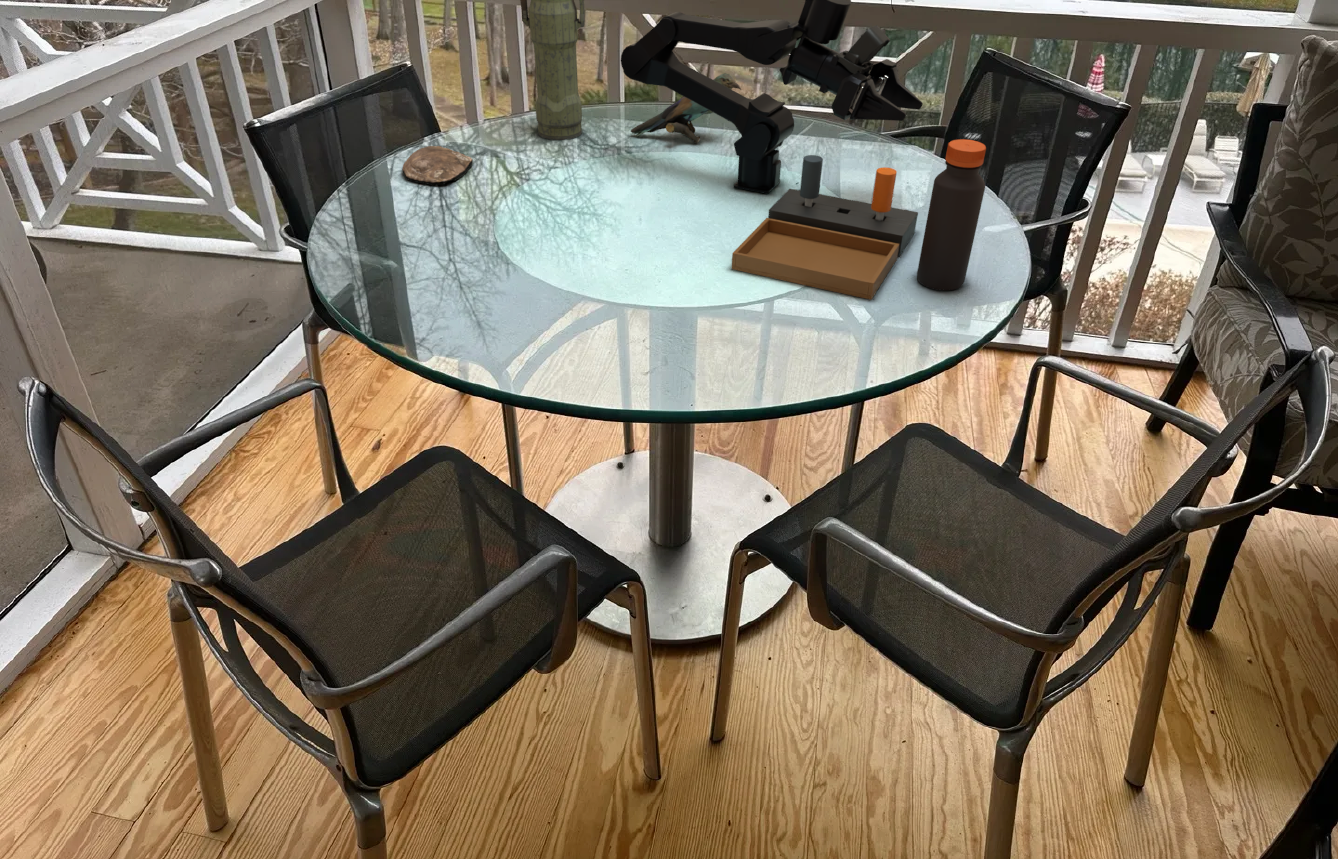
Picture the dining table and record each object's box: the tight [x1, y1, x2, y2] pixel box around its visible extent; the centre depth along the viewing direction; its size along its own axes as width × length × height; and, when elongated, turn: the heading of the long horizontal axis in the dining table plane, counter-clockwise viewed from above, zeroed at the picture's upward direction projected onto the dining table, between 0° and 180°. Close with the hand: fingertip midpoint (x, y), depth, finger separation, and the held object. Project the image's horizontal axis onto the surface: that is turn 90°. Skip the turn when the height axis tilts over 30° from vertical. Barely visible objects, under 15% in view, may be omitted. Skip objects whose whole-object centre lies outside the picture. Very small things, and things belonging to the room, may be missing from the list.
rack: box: [767, 188, 919, 258], centre depth 149 cm, size 10×21×4 cm, turn 64°
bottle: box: [916, 138, 987, 292], centre depth 130 cm, size 7×7×20 cm
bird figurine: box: [630, 72, 742, 145], centre depth 180 cm, size 13×10×20 cm
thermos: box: [519, 0, 586, 141], centre depth 176 cm, size 9×12×35 cm
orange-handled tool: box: [871, 166, 898, 221], centre depth 144 cm, size 3×3×11 cm
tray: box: [731, 217, 899, 301], centre depth 139 cm, size 21×14×3 cm
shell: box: [401, 145, 474, 186], centre depth 167 cm, size 12×13×4 cm
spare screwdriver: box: [799, 154, 824, 207], centre depth 148 cm, size 3×3×11 cm
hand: (913, 111), depth 144 cm, fingers open, 9 cm apart
